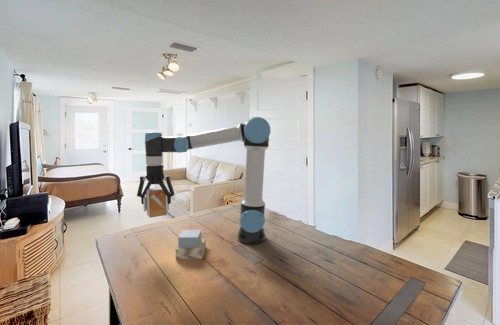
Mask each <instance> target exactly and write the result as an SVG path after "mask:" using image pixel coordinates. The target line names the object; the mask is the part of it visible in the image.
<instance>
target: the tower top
mask: <svg viewBox="0 0 500 325" xmlns="http://www.w3.org/2000/svg"><path fill="white" fill-rule="evenodd" d="M201 238H202V229H183V230H182V231H181V232H180V234H179V235H178V238H177V239H178V240H177V243H178V244H177V246H178V248H198V247H199V244H200V242H201Z"/></svg>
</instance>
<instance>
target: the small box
mask: <svg viewBox="0 0 500 325" xmlns="http://www.w3.org/2000/svg"><path fill="white" fill-rule="evenodd" d="M145 197H146V205H147V210H146V215H147V216H148V218H156V217H163V216H167V214H168V213H167V212H168V211H166V197H167V196H166V194H165V193H164V191H163V189H162V188H161V186H158V187H150V188H149V189H147V192H146V195H145Z"/></svg>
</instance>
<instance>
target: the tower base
mask: <svg viewBox="0 0 500 325" xmlns="http://www.w3.org/2000/svg"><path fill="white" fill-rule="evenodd" d="M206 239H207V238H206V237H203V238H202V237H201V242H200V244H199V247H198V248H178V245H177V246H176V248H175V259H177V260H179V259H181V260H182V259H183V260H189V259H190V260H191V259H194V260H195V259H203V257H204V254H205V252H206V251H205V250H206V247H207V246H206V245H207V244H206V242H207V240H206Z"/></svg>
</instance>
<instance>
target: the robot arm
mask: <svg viewBox="0 0 500 325" xmlns="http://www.w3.org/2000/svg"><path fill="white" fill-rule="evenodd" d="M162 134H163V133H162V132H161V131H160V132H159V131H157V132H154V131H151V132H148V131H147V132H146V133H145V134H144V145H145V164H146V166H145V167H146V169H145V170H146V175H141V176H140V177H139V185H138V189H137V193H136V197H139V198H140V201H141V202H140V203H141V204H142V205H143V212H147V205H146V192H147V189H149V188H151V186H152V185H159V187H161V188H162V189H163V191H164V193H165V194H166V211H167V212H168V211H169V210H170V204H171V203H172V197H174V196H175V194H176V193H175V191H174V187H173V185H172V181H171V175H164V166H163V163H164V158H163V157H164V156H163V153H179V154H181V153H187V152H188V150H193V149H198V148H204V147H210V146H215V145H222V144H228V143H233V142H239V141H241V142H243V146H244V148H245V149H246V158H245V159H246V160H245V161H246V162H245V175H244V176H245V178H244V179H245V180H244V197H242V198H241V199H240V212H239V213H240V216H239V224H240V227H239V230H238V232H237V240H238V241H239V242H240V243H241V244H244V245H245V244H246V245H258V244H261V242H262V243H263V241H264V240H265V241H266V233H265V229H264V226H265V223H266V219H265V212H266V211H265V209H266V203H265V201H264V199H263V190H264V188H263V187H264V174H265V172H264V171H265V157H266V150H267V149H268V148H269V142H270V134H271V126H270V123H269V121H268V120H266V118H263V117H261V116H256V117H255V116H254V117H251V118H249V119H248V120H246V122H242V123H239V124H238V125H236V126H229V127H224V128H218V129H213V130H207V131H201V132H196V133H192V134H186V135H185V134H184V135H180V136H179V135H177V136H176V135H175V136H163V135H162ZM146 180H147V181H148V182H147V183H146V186H145V187H144V185H145V181H146ZM163 180H165V181H166V185H167V187H168V188H167V187H166V185H165V182H164V181H163ZM143 188H144V189H143ZM265 241H264V242H265Z"/></svg>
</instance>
